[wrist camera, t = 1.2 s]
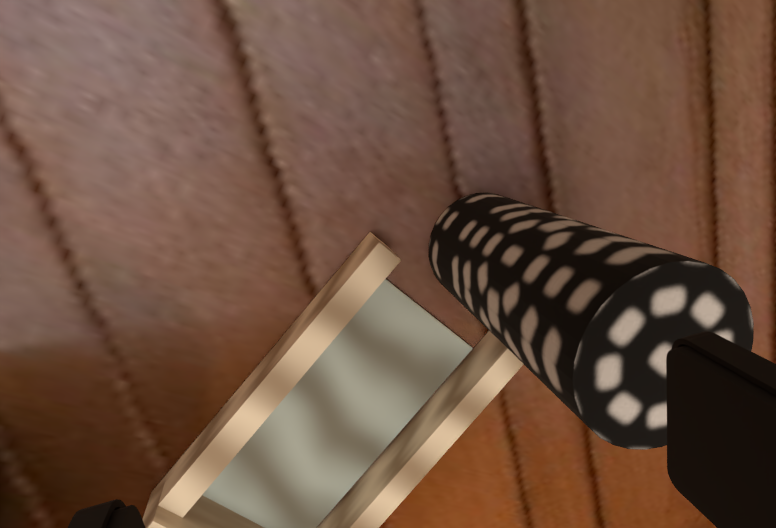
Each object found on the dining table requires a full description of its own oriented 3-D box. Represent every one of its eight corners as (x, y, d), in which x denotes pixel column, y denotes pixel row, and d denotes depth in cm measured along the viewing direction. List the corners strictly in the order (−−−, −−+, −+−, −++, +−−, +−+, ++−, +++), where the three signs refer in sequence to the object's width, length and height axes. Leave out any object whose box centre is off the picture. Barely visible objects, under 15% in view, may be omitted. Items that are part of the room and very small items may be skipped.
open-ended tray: (370, 231, 38) (383, 247, 33) (506, 343, 43) (534, 370, 38) (151, 492, 39) (134, 542, 35) (306, 570, 44) (309, 624, 40)
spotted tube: (550, 234, 41) (788, 332, 22) (484, 316, 42) (660, 480, 23) (475, 169, 38) (672, 218, 19) (406, 258, 39) (531, 389, 20)
